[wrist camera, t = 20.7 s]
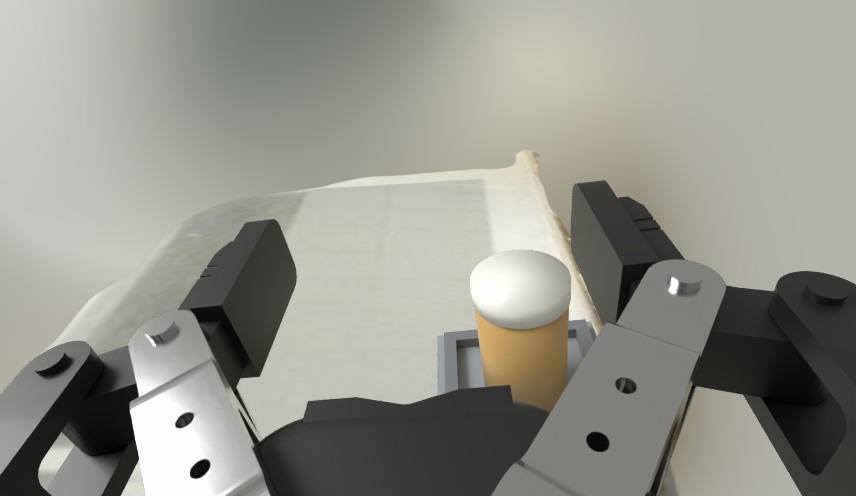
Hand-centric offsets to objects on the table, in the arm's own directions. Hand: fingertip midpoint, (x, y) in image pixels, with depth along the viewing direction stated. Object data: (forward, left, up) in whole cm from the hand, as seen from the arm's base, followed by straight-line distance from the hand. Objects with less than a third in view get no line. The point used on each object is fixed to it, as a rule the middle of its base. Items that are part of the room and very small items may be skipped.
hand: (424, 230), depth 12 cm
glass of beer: (+4, +12, -23) cm, 26 cm away
